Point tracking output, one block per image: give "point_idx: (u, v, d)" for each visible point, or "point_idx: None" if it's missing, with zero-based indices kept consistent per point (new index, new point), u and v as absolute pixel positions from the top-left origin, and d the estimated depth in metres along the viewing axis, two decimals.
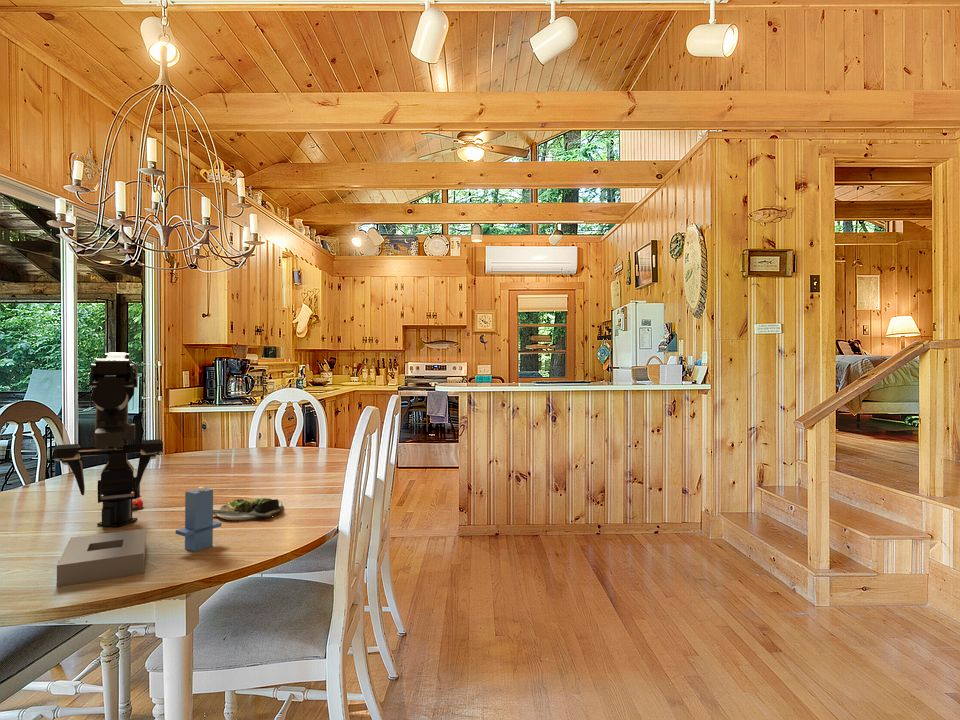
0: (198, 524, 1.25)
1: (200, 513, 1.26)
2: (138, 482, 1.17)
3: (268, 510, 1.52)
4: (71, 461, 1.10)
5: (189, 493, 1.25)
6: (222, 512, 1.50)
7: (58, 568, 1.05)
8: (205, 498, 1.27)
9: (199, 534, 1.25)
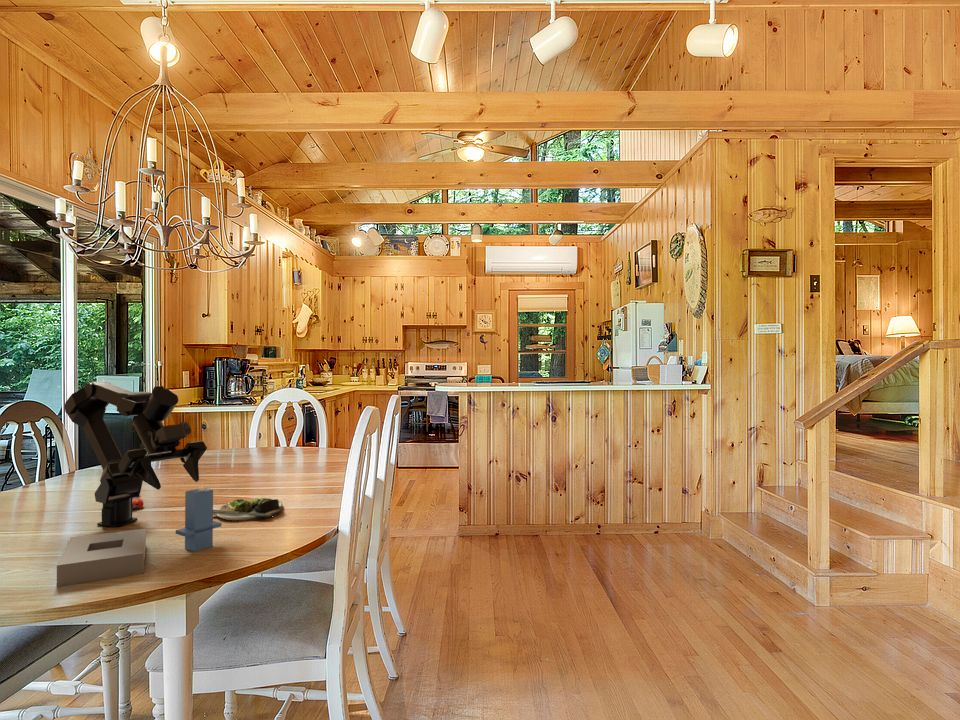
0: (198, 524, 1.25)
1: (200, 513, 1.26)
2: (197, 473, 1.36)
3: (268, 510, 1.52)
4: (145, 459, 1.27)
5: (189, 493, 1.25)
6: (222, 512, 1.50)
7: (58, 568, 1.05)
8: (205, 498, 1.27)
9: (199, 534, 1.25)
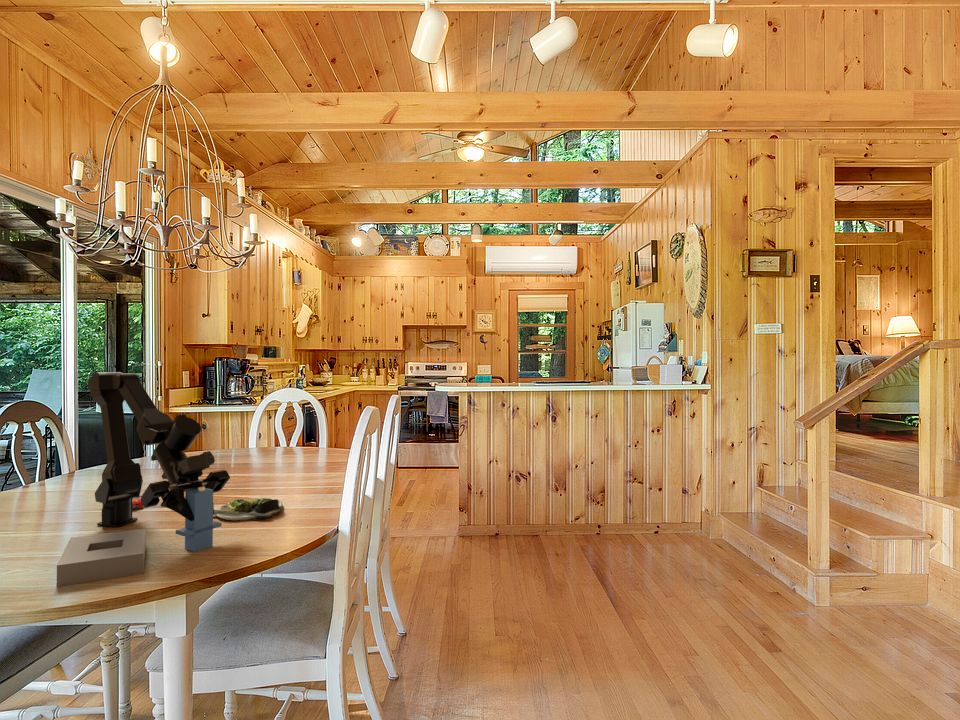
0: (198, 524, 1.25)
1: (200, 513, 1.26)
2: None
3: (268, 510, 1.52)
4: (178, 490, 1.24)
5: (189, 493, 1.25)
6: (222, 512, 1.50)
7: (58, 568, 1.05)
8: (205, 498, 1.27)
9: (199, 534, 1.25)
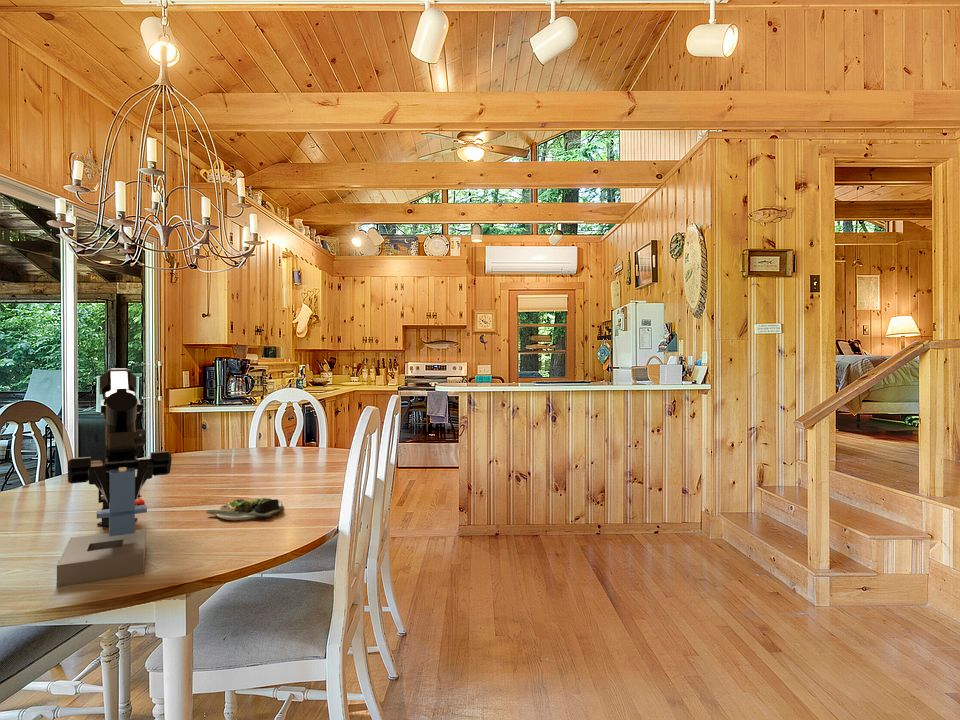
0: (115, 507, 1.15)
1: (117, 495, 1.16)
2: (137, 490, 1.18)
3: (268, 510, 1.52)
4: (98, 468, 1.16)
5: None
6: (222, 512, 1.50)
7: (58, 568, 1.05)
8: (124, 480, 1.16)
9: (116, 518, 1.15)
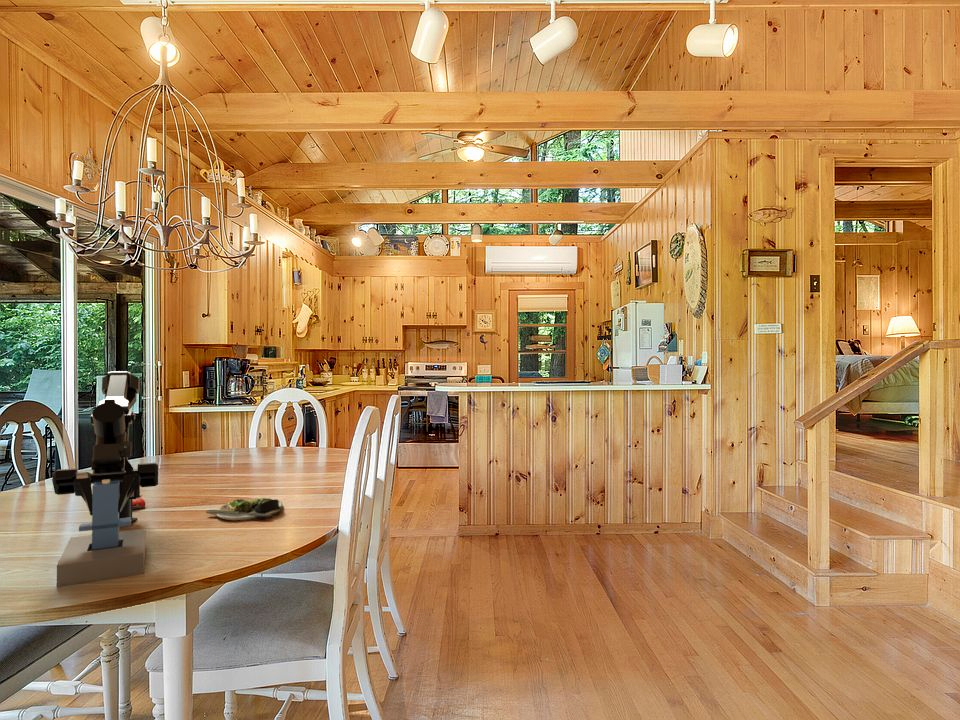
0: (98, 520, 1.14)
1: (100, 508, 1.14)
2: (121, 503, 1.17)
3: (268, 510, 1.52)
4: (82, 480, 1.15)
5: None
6: (222, 512, 1.50)
7: (58, 568, 1.05)
8: (107, 492, 1.15)
9: (98, 531, 1.14)
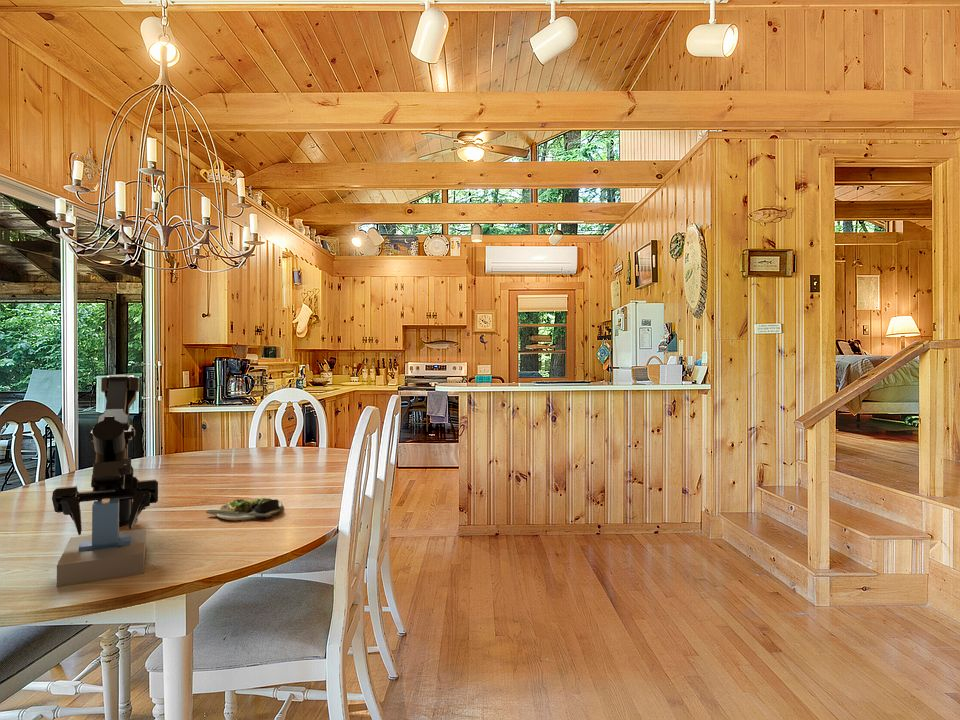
0: (97, 539, 1.14)
1: (100, 527, 1.14)
2: (132, 519, 1.18)
3: (268, 510, 1.52)
4: (70, 499, 1.14)
5: (93, 504, 1.15)
6: (222, 512, 1.50)
7: (58, 568, 1.05)
8: (107, 512, 1.15)
9: None
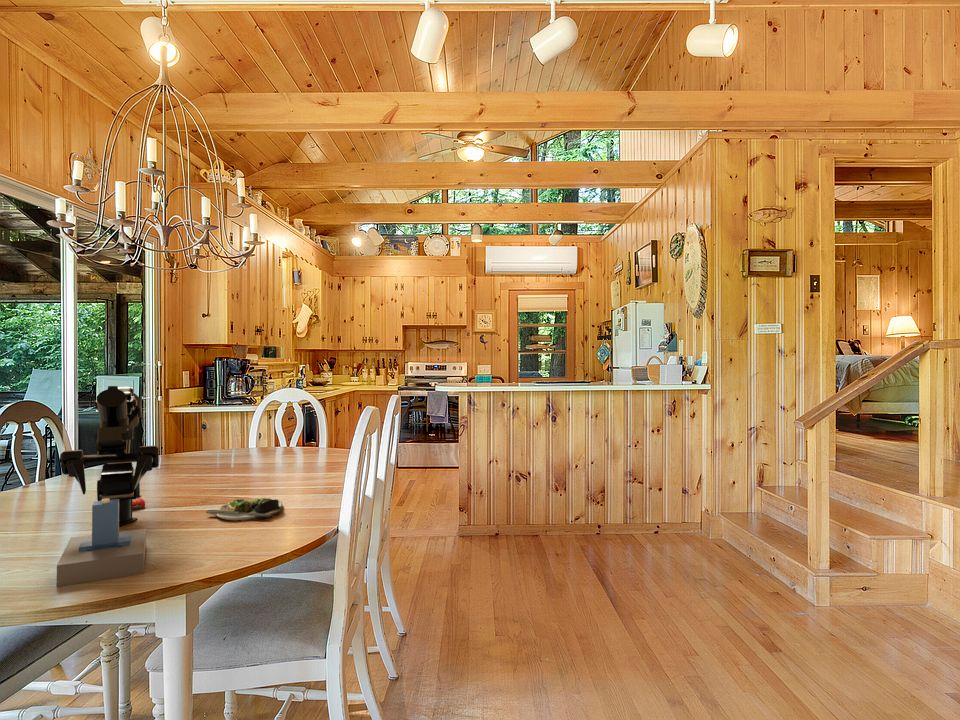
0: (97, 539, 1.14)
1: (100, 527, 1.14)
2: (135, 481, 1.26)
3: (268, 510, 1.52)
4: (75, 461, 1.22)
5: (93, 504, 1.15)
6: (222, 512, 1.50)
7: (58, 568, 1.05)
8: (107, 512, 1.15)
9: None
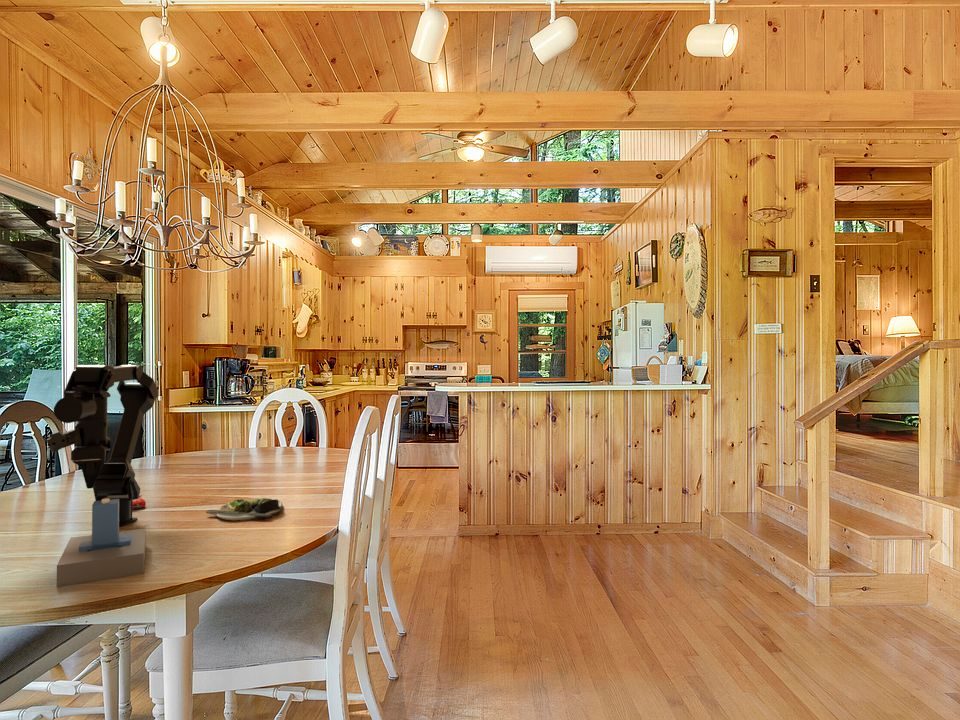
0: (97, 539, 1.14)
1: (100, 527, 1.14)
2: None
3: (268, 510, 1.52)
4: None
5: (93, 504, 1.15)
6: (222, 512, 1.50)
7: (58, 568, 1.05)
8: (107, 512, 1.15)
9: None
